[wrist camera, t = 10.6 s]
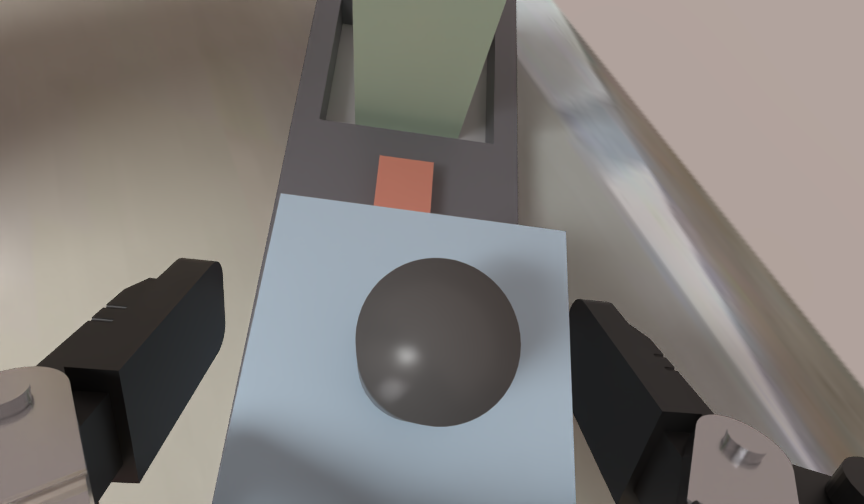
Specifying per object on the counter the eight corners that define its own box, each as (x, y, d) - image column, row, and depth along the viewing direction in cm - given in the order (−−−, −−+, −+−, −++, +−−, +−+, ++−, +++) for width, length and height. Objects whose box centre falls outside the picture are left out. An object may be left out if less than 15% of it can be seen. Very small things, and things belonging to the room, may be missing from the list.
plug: (306, 457, 14) (110, 620, 3) (328, 321, 16) (249, 107, 5) (442, 467, 15) (689, 634, 4) (450, 333, 16) (637, 166, 5)
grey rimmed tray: (222, 545, 14) (187, 579, 11) (327, 6, 22) (322, -53, 19) (499, 553, 15) (530, 585, 12) (502, 36, 23) (521, -16, 20)
